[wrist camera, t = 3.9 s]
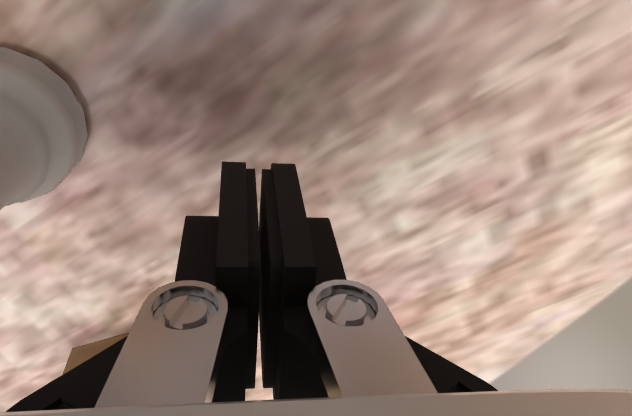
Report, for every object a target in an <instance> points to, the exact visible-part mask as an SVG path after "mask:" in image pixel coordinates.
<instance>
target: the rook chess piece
mask: <svg viewBox="0 0 632 416" xmlns="http://www.w3.org/2000/svg"><path fill="white" fill-rule="evenodd" d="M87 138H88V133H87V128H86V122H85V116H84V110H83V108H82V106H81V105H80V103H79V102H78V100H77V98H76V97H75V95H74V94H73V92H72V90H71V89H70V87H69V86H68V84H67V82H65V81H64V80H63V79H62V78H60V77H59V76H58V75H57V74H56V73H54V72H53V71H52V70H51V69H49V68H48V67H47V66H46V65H44V64H43V63H42V62H41V61H40V60H37V59H35V58H32V57H29V56H27V55H24V54H22V53H19V52H17V51H14V50H11V49H9V48H6V47H0V210H1V209H2V208H3V207H4V206H5V205H11V204H13V203H16V202H25V201H27V200H30V199H33V198H35V197H38V196H41V195H43V194H46V193H48V192H50V191H52V190H54V189H55V188H56V187H57V186H58V185H59V184H60V183H61V182H62V180H63V179H64V178H65V177H66V176H67V175H68V174H69V173H70V172H71V170H72V169H73V168H74V167H75V166H76V165H77V164H78V163H79V162H80V161H81V158H82V155H83V152H84V148H85V145H86V142H87Z"/></svg>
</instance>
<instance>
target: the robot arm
mask: <svg viewBox="0 0 632 416" xmlns="http://www.w3.org/2000/svg"><path fill="white" fill-rule="evenodd" d="M258 319H259V321H260V341H261V361H262V381H263V388H273V398H274V400H255V401H245V389H252V388H255V374H256V356H257V337H258ZM0 416H632V390H620V389H546V390H518V391H517V390H516V391H498V390H497V389H495V388H494V387H493V386H491V385H490V384H488V383H487V382H485V381H484V380H482V379H480V378H478V377H476V376H475V375H473V374H471V373H469V372H468V371H466V370H464V369H462V368H461V367H459V366H457V365H455V364H454V363H452V362H450V361H448V360H446V359H445V358H443V357H441V356H439V355H438V354H436V353H434V352H432V351H431V350H429V349H427V348H425V347H423V346H422V345H420V344H418V343H416V342H415V341H413V340H411V339H409V338H408V337H406V336H404V334H403V332H402V331H401V329H400V327H399V325H398V324H397V322H396V320H395V319H394V317H393V315H392V313H391V312H390V310H389V308H388V307H387V305H386V303H385V301H384V300H383V299H382V297H381V296H380V295H379V294H378V293H377V292H376V291H375V290H373V289H372V288H370V287H369V286H367V285H364V284H362V283H359V282H356V281H351V280H347V279H346V276H345V272H344V269H343V265H342V262H341V258H340V255H339V251H338V248H337V244H336V241H335V237H334V234H333V230H332V227H331V223H330V220H329V219H328V218H307V217H306V213H305V208H304V203H303V199H302V194H301V189H300V185H299V180H298V175H297V171H296V166H295V164H277V163H272V164H271V169H262V179H261V199H260V220H259V225H258V209H257V193H256V177H255V169H246V163H245V162H222V171H221V187H220V203H219V216H186V218H185V223H184V229H183V235H182V241H181V247H180V253H179V259H178V265H177V271H176V277H175V282H172V283H169V284H166V285H164V286H162V287H159V288H158V289H156V290H155V291H153V292H152V293H151V294H149V296H148V297H147V299H146V300H145V301H144V303H143V305H142V307H141V309H140V311H139V313H138V315H137V318H136V320H135V322H134V324H133V326H132V328H131V330H130V332H129V335H128V336H126V337H124V338H123V339H121V340H120V341H118V342H116V343H115V344H113V345H111V346H110V347H108V348H106V349H105V350H103V351H101V352H100V353H98V354H96V355H95V356H93V357H91V358H90V359H88V360H86V361H85V362H83V363H82V364H80V365H78V366H77V367H75V368H73V369H72V370H70V371H68V372H67V373H65V374H63V375H62V376H60V377H58V378H57V379H55V380H53V381H52V382H50V383H48V384H47V385H45V386H44V387H42V388H40V389H39V390H37V391H35V392H34V393H32V394H30V395H29V396H27V397H25V398H24V399H22V400H20V401H19V402H18V403H16V404H15V405H14V406H12V407H11V408H10V409H8V410H7V411H6V412H0Z"/></svg>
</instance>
